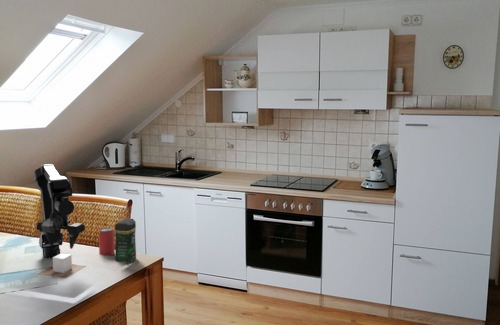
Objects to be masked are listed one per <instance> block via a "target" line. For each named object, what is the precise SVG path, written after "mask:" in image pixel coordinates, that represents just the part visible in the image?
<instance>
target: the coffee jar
mask: <svg viewBox="0 0 500 325" xmlns="http://www.w3.org/2000/svg"><path fill="white" fill-rule="evenodd" d="M136 226H137V223H136V221H135V220H134V218H127V217H125V218H123V219H121V220H118V221H117V222H116V223H115V224H114V237H115V247H114V248H115V254H114V257H115V258H114V260H115V261H116V262H118V263H119V262H120V263H124V265H127V264H129V265H130V264H131V263H133V262H134V261H136V259H137V249H136V229H137V227H136Z"/></svg>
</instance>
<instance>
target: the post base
mask: <svg viewBox="0 0 500 325" xmlns="http://www.w3.org/2000/svg"><path fill="white" fill-rule="evenodd" d="M86 267H87V265H83V264H82V265H81V264H74V263H72V269H70V270H68V271H66V272H65V273H61V272H54V271H53V265H52V266H50V267H48V268H46V269H44V270H43V271H40V272H38V275H41V276H42V275H43V276H48V277H49V276H50V277H55V278H63V279H66V278H68V277H71V276H72V275H75V273H77V272H79V271H80V270H82V269H83V268H84V269H85V268H86Z"/></svg>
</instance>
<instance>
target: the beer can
mask: <svg viewBox="0 0 500 325" xmlns="http://www.w3.org/2000/svg"><path fill="white" fill-rule="evenodd" d="M98 245H99V246H98V248H99V252H98V253H99V255H102V256H108V257H109V256H110V257H113V256H115V248H116V247H115V231H114V228H112V227H103V228H101V229H99V232H98Z"/></svg>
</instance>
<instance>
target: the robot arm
mask: <svg viewBox="0 0 500 325" xmlns="http://www.w3.org/2000/svg"><path fill="white" fill-rule="evenodd" d="M32 177H33V178H32V179H33V182H34V184H35V187H36V188H37V189H38V191H39V192H40V199H41V206H42V215H43V220H41V221H38V222H37V224H36V225H35V226H36V231H37V230H38V231H39V232H40V235H39V240H38V244H39V248H41V249H42V257H44V258H45V259H53V257H55V256H57V255H59V254H61V248H60V246H63V244H64V243H63V242H64V234H63V232H62V230H67V232H68V233H67V236H68V237H69V238H68V239H69V248H70V250H72V249H73V248H74V246H75V243H76V241H77V238H78V237H79V235H80V234H82V233H83V232H84V231H86V226H85V224H84V223H83V222H82V223H81V222H75V223H72V224H71V220H69V215H71V214H72V213H74V211H75V204H74V203H73V201H71V200H70V198H69V197H73V193H74V192H73V187H72V184H71V182H70V180H68V178H67V176H64V175H60V174H59V172H58V170H56V168H55V165H54V164H53V163H48V164H47V163H46V164H42V165H40V167H39V168H37V169H35V170H34V172H33V176H32Z"/></svg>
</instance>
